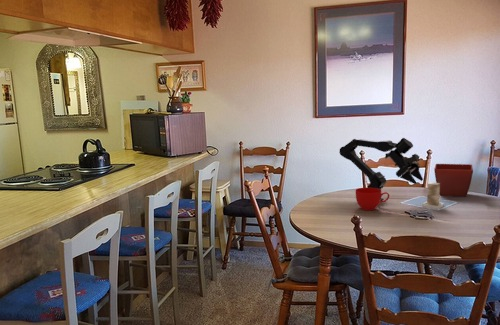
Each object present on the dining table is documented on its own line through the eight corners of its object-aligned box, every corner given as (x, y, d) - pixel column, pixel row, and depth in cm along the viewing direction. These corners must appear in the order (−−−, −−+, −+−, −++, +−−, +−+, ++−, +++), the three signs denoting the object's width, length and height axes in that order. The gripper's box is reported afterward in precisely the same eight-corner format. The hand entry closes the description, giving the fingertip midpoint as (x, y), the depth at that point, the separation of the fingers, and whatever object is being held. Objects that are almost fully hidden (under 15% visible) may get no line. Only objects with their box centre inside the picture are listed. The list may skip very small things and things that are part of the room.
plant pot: (433, 197, 221) (434, 168, 219) (435, 190, 238) (435, 163, 235) (472, 200, 212) (473, 170, 210) (471, 192, 229) (472, 164, 227)
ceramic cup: (391, 212, 197) (391, 193, 195) (356, 212, 200) (356, 193, 198) (387, 205, 209) (387, 187, 208) (354, 205, 213) (354, 187, 211)
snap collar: (421, 206, 201) (422, 204, 200) (427, 203, 206) (427, 200, 206) (438, 209, 195) (438, 206, 195) (444, 205, 201) (444, 202, 201)
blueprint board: (438, 212, 193) (438, 210, 192) (398, 204, 210) (398, 202, 210) (459, 204, 206) (459, 202, 205) (420, 197, 223) (420, 195, 223)
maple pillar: (426, 206, 201) (427, 183, 199) (429, 204, 204) (430, 182, 202) (436, 207, 198) (436, 184, 196) (439, 206, 201) (439, 183, 199)
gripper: (402, 151, 198) (424, 175, 193) (416, 147, 212) (437, 169, 206) (387, 165, 205) (407, 188, 199) (401, 160, 218) (421, 182, 212)
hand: (419, 181), depth 204 cm, fingers open, 9 cm apart
